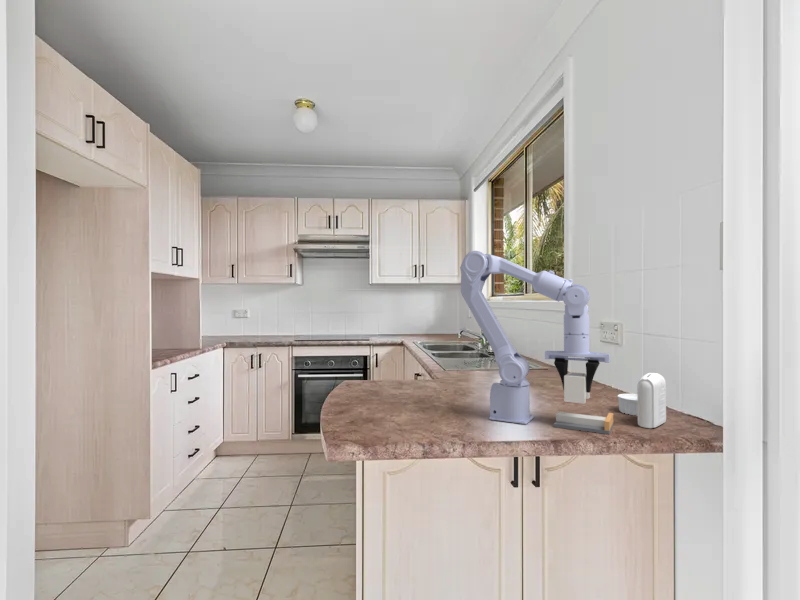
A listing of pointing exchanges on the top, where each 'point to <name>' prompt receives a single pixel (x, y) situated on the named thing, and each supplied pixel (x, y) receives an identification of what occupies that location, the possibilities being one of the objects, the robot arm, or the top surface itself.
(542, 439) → the top surface
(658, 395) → the photo printer
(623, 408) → the ramekin
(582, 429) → the rail mount
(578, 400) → the block
